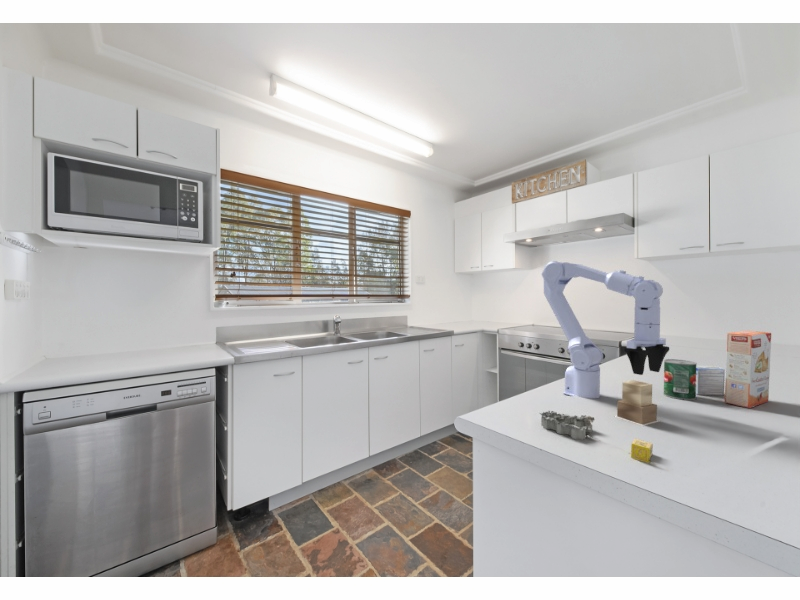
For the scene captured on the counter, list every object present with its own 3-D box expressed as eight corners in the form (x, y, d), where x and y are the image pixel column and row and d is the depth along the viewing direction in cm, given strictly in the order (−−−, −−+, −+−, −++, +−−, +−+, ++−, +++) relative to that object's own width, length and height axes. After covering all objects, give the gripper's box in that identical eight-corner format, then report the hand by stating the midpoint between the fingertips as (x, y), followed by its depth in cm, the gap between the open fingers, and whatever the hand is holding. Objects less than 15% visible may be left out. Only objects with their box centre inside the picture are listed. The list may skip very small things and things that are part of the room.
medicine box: (713, 392, 112) (713, 365, 112) (724, 396, 107) (725, 368, 107) (687, 391, 112) (687, 365, 112) (697, 395, 108) (698, 368, 108)
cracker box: (751, 409, 95) (753, 334, 94) (723, 403, 100) (724, 332, 100) (771, 402, 101) (772, 331, 101) (743, 396, 107) (744, 329, 106)
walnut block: (617, 416, 88) (617, 401, 88) (631, 412, 90) (631, 397, 90) (642, 424, 82) (642, 408, 82) (656, 420, 85) (656, 404, 85)
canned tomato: (657, 392, 112) (658, 358, 111) (684, 393, 110) (685, 359, 110) (673, 399, 104) (674, 363, 103) (702, 400, 103) (703, 364, 102)
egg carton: (597, 435, 79) (597, 417, 79) (579, 443, 75) (579, 424, 75) (554, 420, 88) (554, 404, 88) (536, 426, 84) (536, 410, 83)
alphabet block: (652, 458, 67) (652, 442, 67) (649, 463, 65) (649, 448, 65) (634, 452, 70) (634, 438, 70) (630, 458, 67) (630, 443, 67)
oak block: (622, 401, 87) (622, 382, 87) (633, 399, 89) (633, 380, 89) (640, 406, 83) (640, 386, 83) (652, 404, 85) (652, 384, 85)
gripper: (646, 326, 87) (646, 378, 88) (678, 323, 93) (677, 373, 94) (619, 323, 94) (618, 373, 94) (650, 321, 100) (649, 367, 100)
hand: (646, 372), depth 94 cm, fingers open, 7 cm apart
